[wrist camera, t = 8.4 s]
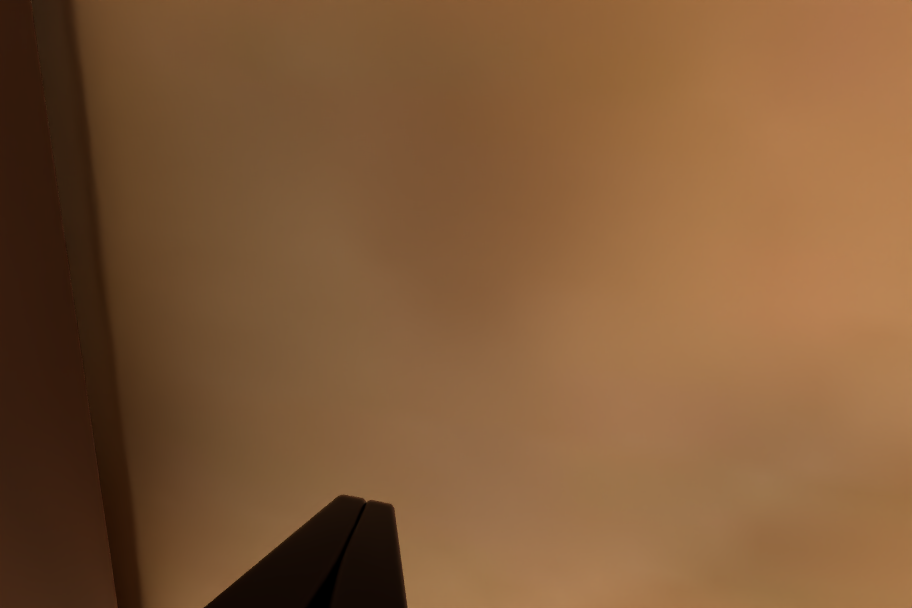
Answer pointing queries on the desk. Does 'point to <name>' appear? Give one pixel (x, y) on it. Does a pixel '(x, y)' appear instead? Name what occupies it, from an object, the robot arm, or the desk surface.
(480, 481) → the desk surface
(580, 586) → the desk surface
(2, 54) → the rack
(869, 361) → the desk surface
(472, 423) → the desk surface
